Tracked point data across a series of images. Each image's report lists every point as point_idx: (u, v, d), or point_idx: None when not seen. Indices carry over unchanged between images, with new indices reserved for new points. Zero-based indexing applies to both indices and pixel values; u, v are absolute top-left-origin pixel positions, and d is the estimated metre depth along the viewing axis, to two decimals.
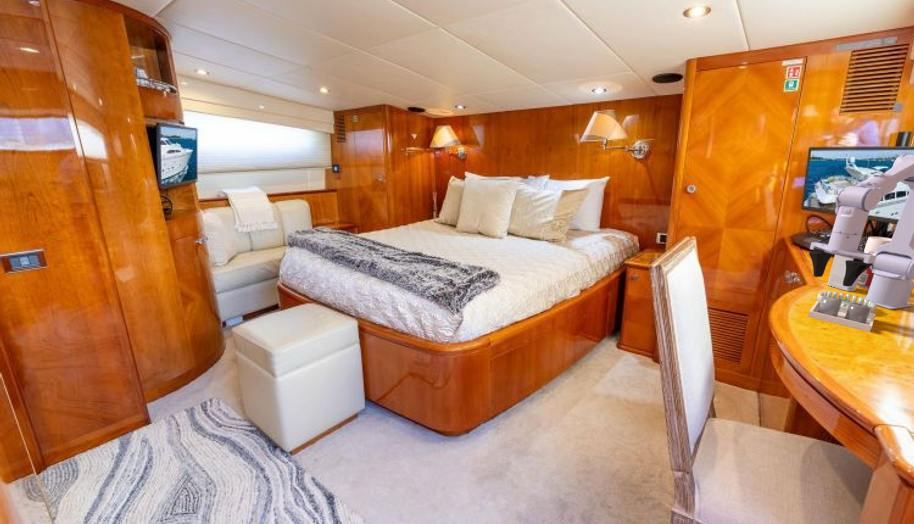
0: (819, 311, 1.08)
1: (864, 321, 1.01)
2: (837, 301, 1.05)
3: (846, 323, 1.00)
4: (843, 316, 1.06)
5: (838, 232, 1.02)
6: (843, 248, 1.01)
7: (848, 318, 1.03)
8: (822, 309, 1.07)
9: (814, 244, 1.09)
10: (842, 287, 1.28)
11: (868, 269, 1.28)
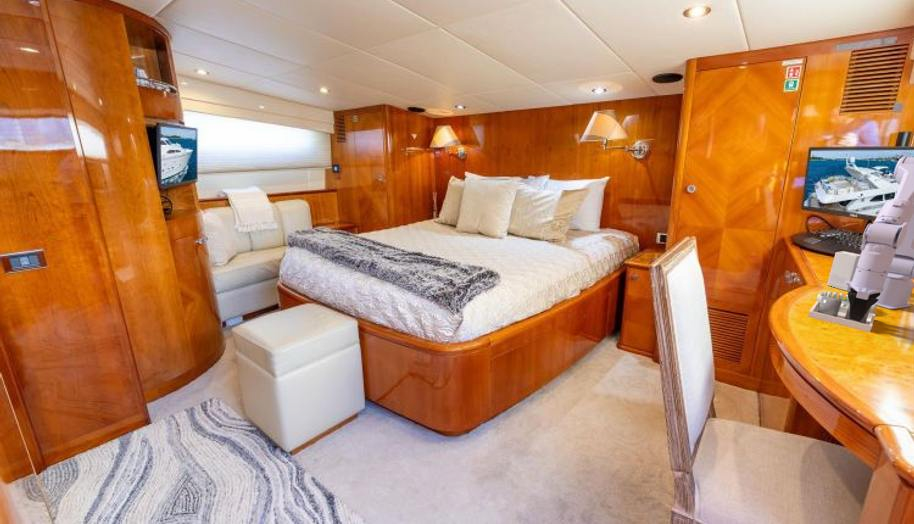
0: (819, 311, 1.08)
1: (864, 321, 1.01)
2: (837, 301, 1.05)
3: (846, 323, 1.00)
4: (843, 316, 1.06)
5: (857, 266, 1.01)
6: (855, 282, 1.01)
7: (848, 318, 1.03)
8: (822, 309, 1.07)
9: None
10: (842, 287, 1.28)
11: None
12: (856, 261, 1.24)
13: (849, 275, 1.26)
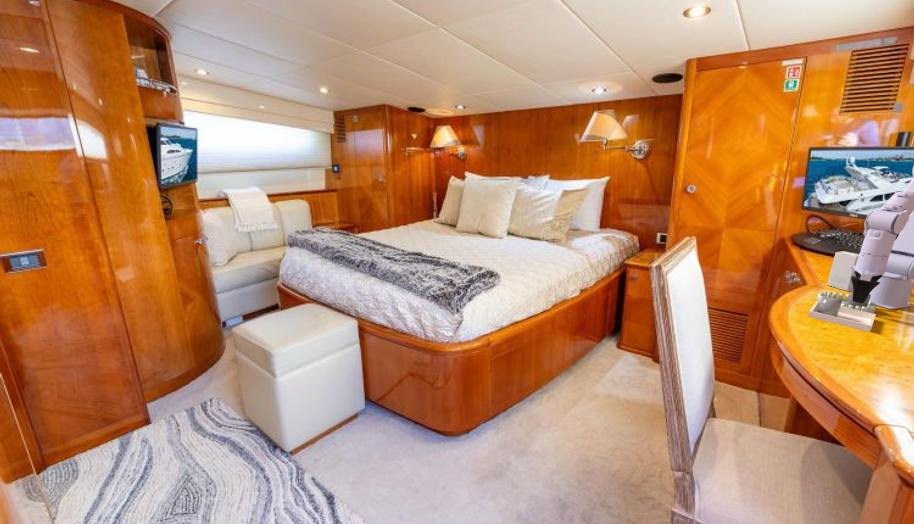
0: (819, 311, 1.08)
1: None
2: (837, 301, 1.05)
3: (846, 323, 1.00)
4: (843, 316, 1.06)
5: (860, 251, 1.09)
6: (859, 266, 1.09)
7: None
8: (822, 309, 1.07)
9: None
10: (842, 287, 1.28)
11: None
12: (856, 261, 1.24)
13: (850, 275, 1.26)
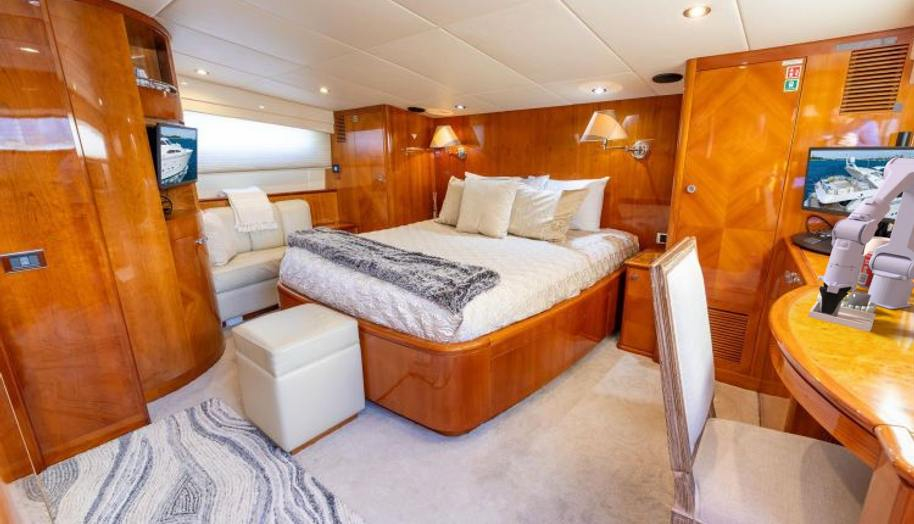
0: (819, 311, 1.08)
1: None
2: None
3: (846, 323, 1.00)
4: (843, 316, 1.06)
5: None
6: (827, 277, 1.04)
7: None
8: None
9: None
10: None
11: (868, 269, 1.28)
12: None
13: None
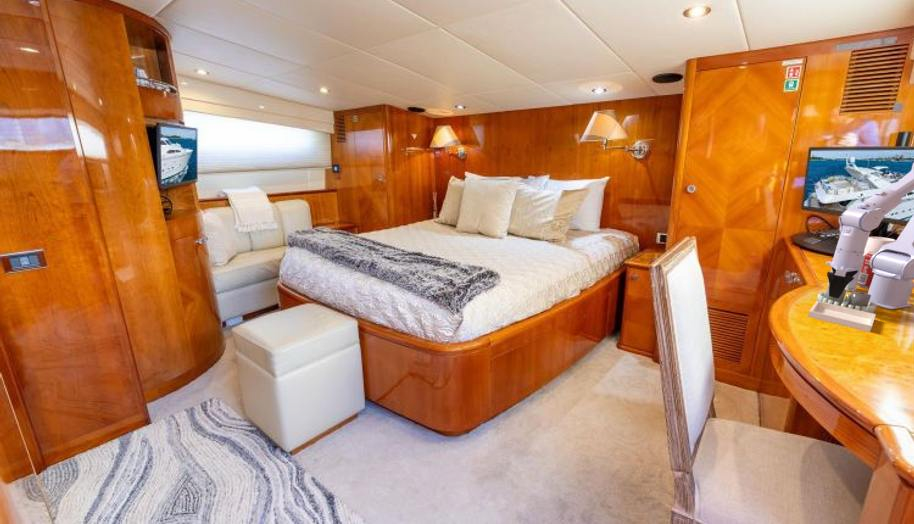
0: None
1: None
2: None
3: (846, 323, 1.00)
4: (843, 316, 1.06)
5: (836, 247, 1.13)
6: (834, 262, 1.12)
7: None
8: (828, 298, 1.15)
9: None
10: None
11: (868, 269, 1.28)
12: None
13: None
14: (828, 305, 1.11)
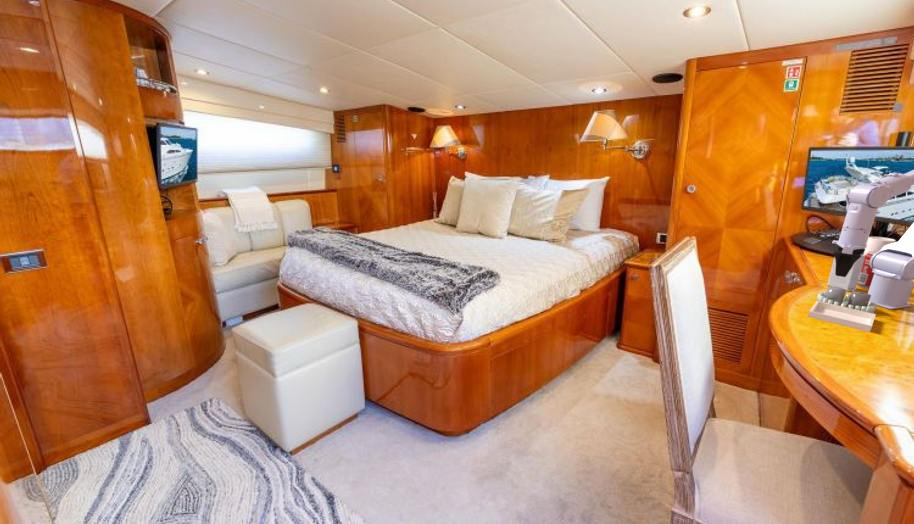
0: None
1: None
2: (842, 290, 1.13)
3: (846, 323, 1.00)
4: (843, 316, 1.06)
5: (843, 226, 1.11)
6: (841, 240, 1.11)
7: None
8: (828, 298, 1.15)
9: None
10: (842, 287, 1.28)
11: (868, 269, 1.28)
12: (856, 261, 1.24)
13: (850, 275, 1.26)
14: (828, 305, 1.11)
